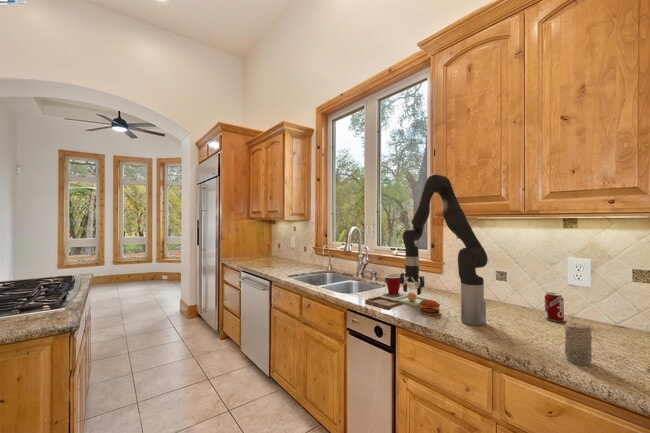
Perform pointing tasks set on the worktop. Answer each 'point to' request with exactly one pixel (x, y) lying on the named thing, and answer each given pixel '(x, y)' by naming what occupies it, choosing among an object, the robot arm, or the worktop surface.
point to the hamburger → (429, 307)
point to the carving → (578, 343)
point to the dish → (408, 302)
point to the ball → (412, 296)
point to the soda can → (554, 307)
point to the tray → (383, 302)
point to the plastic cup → (393, 283)
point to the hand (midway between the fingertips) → (411, 293)
